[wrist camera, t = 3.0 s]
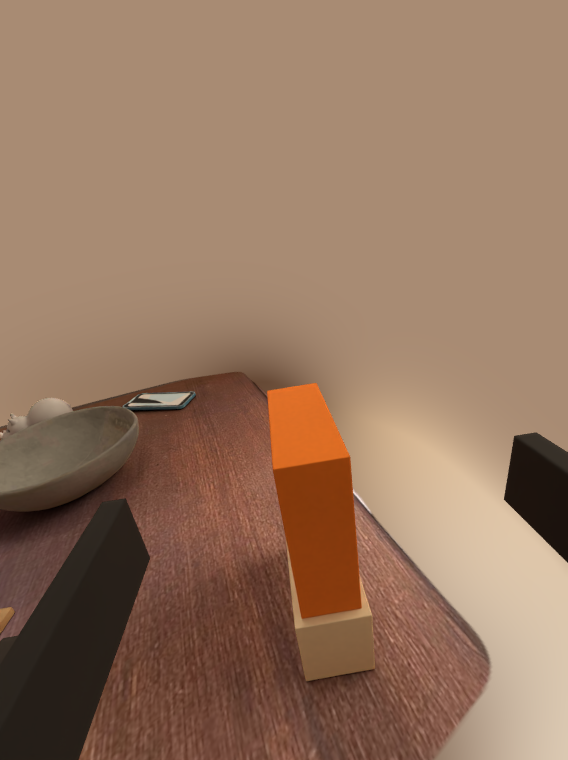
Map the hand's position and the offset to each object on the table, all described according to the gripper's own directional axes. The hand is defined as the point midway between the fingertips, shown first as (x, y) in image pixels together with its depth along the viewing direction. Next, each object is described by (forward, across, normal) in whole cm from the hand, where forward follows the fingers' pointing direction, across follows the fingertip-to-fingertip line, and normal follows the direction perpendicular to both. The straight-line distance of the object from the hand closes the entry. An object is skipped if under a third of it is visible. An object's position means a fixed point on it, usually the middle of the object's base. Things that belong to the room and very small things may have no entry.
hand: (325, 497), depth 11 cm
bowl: (+33, -33, -20) cm, 51 cm away
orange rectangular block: (+10, 0, -14) cm, 17 cm away
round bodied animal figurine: (+48, -48, -21) cm, 71 cm away
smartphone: (+59, -28, -20) cm, 68 cm away
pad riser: (+10, 0, -20) cm, 22 cm away
